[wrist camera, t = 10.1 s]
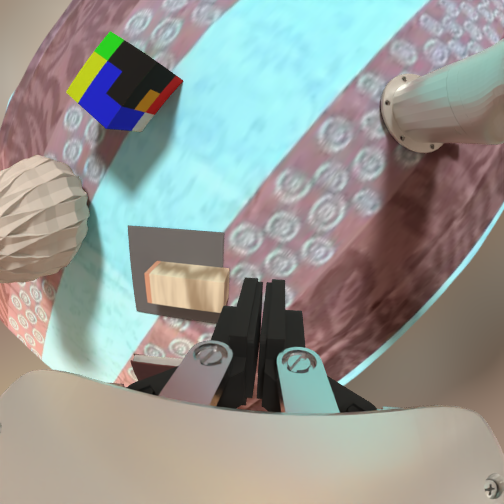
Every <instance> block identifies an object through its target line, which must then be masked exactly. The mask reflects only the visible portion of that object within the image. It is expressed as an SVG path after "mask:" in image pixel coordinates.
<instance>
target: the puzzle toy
mask: <svg viewBox="0 0 504 504" xmlns="http://www.w3.org/2000/svg"><path fill="white" fill-rule="evenodd" d="M182 82H183V80H182V79H180V78H179V77H178V76H176V75H175V74H173V73H172V72H171V71H169V70H168V69H166V68H165V67H164V66H162V65H161V64H159V63H158V62H157V61H155V60H154V59H152V58H151V57H149V56H148V55H146V54H145V53H143V52H142V51H140V50H139V49H137V48H136V47H134V46H133V45H131V44H130V43H128V42H126V41H125V40H123V39H122V38H120V37H118V36H117V35H115V34H114V33H112V32H109V34H108V35H107V36H106V37H105V38H104V40H103V41H102V42H101V43H100V45H99V46H98V47H97V48H96V50H95V51H94V52H93V54H92V55H91V56H90V58H89V59H88V60H87V62H86V63H85V64H84V66H83V67H82V69H81V70H80V72H79V73H78V75H77V76H76V78H75V79H74V81H73V82H72V84H71V85H70V87H69V88H68V90H67V92H66V93H67V94H69V95H70V96H71V97H72V98H73V99H74V100H75V101H76V102H77V103H78V104H80V105H81V106H82V107H83V108H84V109H85V110H86V111H87V112H88V113H89V114H90V115H92V116H93V117H94V118H95V119H96V120H97V121H98V122H99V123H100V124H101V125H103V126H104V127H105V128H106V129H114V130H126V131H136V132H142V131H143V129H144V128H145V127H146V125H147V124H148V123H149V121H150V120H151V119H152V117H153V116H154V115H155V114H156V112H157V111H158V110H159V109H160V107H161V106H162V105H163V104H164V103H165V101H166V100H167V99H168V98H169V97H170V95H171V94H172V93H173V92H174V91H175V90H176V89H177V87H178V86H179V85H180V84H181V83H182Z"/></svg>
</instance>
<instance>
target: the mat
mask: <svg viewBox="0 0 504 504" xmlns="http://www.w3.org/2000/svg"><path fill="white" fill-rule="evenodd" d="M128 236H129V249H130V261H131V270H132V279H133V288H134V295H135V302H136V309H137V311H140V312H145V313H151V314H157V315H163V316H169V317H176V318H182V319H189V320H196V321H204V322H211V323H217V322H218V319H219V316H220V314H221V313H218V312H209V311H201V310H194V309H186V308H179V307H172V306H166V305H159V304H153V303H148V302H147V294H146V284H145V274H144V273H145V272H146V271H147V270H148V269H149V268H150V267H151V266H152V265H153V264H154V263H155V262H156V261H163V262H172V263H182V264H191V265H201V266H211V267H221V268H223V254H224V233H221V232H209V231H196V230H183V229H170V228H156V227H142V226H128Z"/></svg>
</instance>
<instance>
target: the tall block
mask: <svg viewBox="0 0 504 504" xmlns="http://www.w3.org/2000/svg"><path fill="white" fill-rule="evenodd" d="M229 269H230V268H221V267H211V266H201V265H191V264H182V263H172V262H163V261H156V262H155V263H154V264H153V265H152V266H151V267H150V268H149V269H148V270H147V271H146V272H145V273H144V274H145V284H146V294H147V302H148V303H153V304H159V305H166V306H172V307H179V308H186V309H194V310H201V311H209V312H218V313H221V311H222V308H223V306H226V303H227V300H228V296H229Z"/></svg>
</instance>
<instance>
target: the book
mask: <svg viewBox="0 0 504 504" xmlns="http://www.w3.org/2000/svg"><path fill="white" fill-rule="evenodd" d="M182 360H183V359H182V358H166V357H154V356H146V355H139V354H134V359H133V361H132V360H131V365H132V367H133V370H134V373H135V375H136V376H137V379H138V381H140V380H143V379H146V378H148V377H151V376H154V375H156V374H159V373H161V372H164V371H167V370H169V369H172V368H174V367H177V366H179V365H180V363H181V362H182Z"/></svg>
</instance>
